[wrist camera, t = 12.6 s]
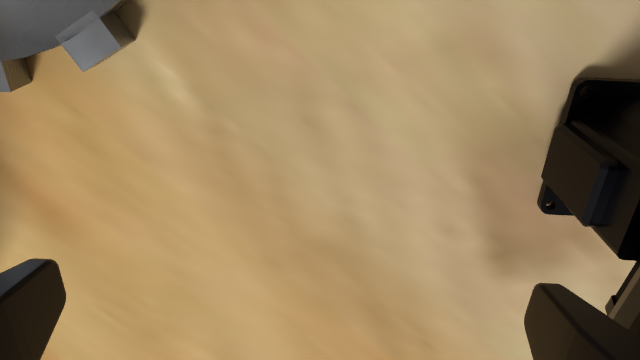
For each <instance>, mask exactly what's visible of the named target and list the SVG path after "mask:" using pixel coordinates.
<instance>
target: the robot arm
mask: <svg viewBox="0 0 640 360" xmlns="http://www.w3.org/2000/svg"><path fill="white" fill-rule="evenodd" d="M585 86H588V91H587V92H586V93H585V94H583V95H580V91H581V90H582V88H584V87H585ZM541 177H542V179H543V184H542V187H541V190H540V194H539V197H538V201H537V205H538V207H539V208H540V209H541V211H542V212H544V213H545V214H552V215H572V216H575V217H576V218H577V219H578V220H579V221H580V222H581V224H582V225H583V226H585V227H591V228H592V229H593V230H594V231H595V232H596V233H597V234H598V235H599V236H600V238H601V239H602V240H603V241H604V242H605V243H606V244H607V245H608V246H609V248H610V249H611V250H612V251H613V252H614V253H615V254H616V255H617V256H618V258H619V259H622V260H635V261H636V263H635V265H634V267H633V268H632V270H631V271H630V273H629V275H628V276H627V278H626V279H625V281H624V283H623V284H622V286H621V288H620V289H619V291H618V292H617V294H616V295H612V296H611V298H610V299H609V301H608V303H607V304H606V306H605V309H606V313H607V315H605V314H604V313H602V312H601V311H599V310H598V309H596V308H595V307H593V306H592V305H590V304H589V303H587V302H586V301H584V300H583V299H581V298H580V297H578V296H577V295H576V294H574V293H573V292H571V291H570V290H568V289H567V288H565V287H564V286H562V285H560V284H550V283H539V284H537V285H536V286H535V287H534V289H533V292H532V295H531V298H530V301H529V304H528V307H527V310H526V313H525V318H524V325H525V331H526V334H527V338H528V342H529V345H530V349H531V353H532V356H533V360H640V80H631V79H609V78H588V77H585V78H580V79H578V80H576V81H575V82H574V83H573V84H572V86H571V88H570V92H569V95H568V98H567V102H566V105H565V109H564V112H563V115H562V119H561V122H560V124H559V125H558V126H557V127H556V128H555V130H554V134H553V137H552V140H551V144H550V147H549V151H548V154H547V158H546V161H545V165H544V168H543V172H542V175H541ZM549 201H553V203H552V204H551V205H548V206H546V204H547V203H548V202H549ZM65 302H66V292H65V288H64V284H63V281H62V277H61V273H60V270H59V266H58V264H57V263H56V261H54V260H52V259H29V260H27V261H25V262H23V263H21V264H19V265H17V266H15V267H13V268H11V269H8V270H6V271H4V272H2V273H0V360H40V359H41V357H42V355H43V352H44V350H45V348H46V346H47V344H48V341H49V339H50V337H51V335H52V332H53V330H54V328H55V326H56V324H57V321H58V319H59V317H60V315H61V312H62V310H63V308H64V305H65Z"/></svg>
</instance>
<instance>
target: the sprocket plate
mask: <svg viewBox="0 0 640 360" xmlns="http://www.w3.org/2000/svg"><path fill="white" fill-rule="evenodd" d="M126 1H127V0H0V92H11V91H14V90H16V89H18V88H20V87H22V86H24V85H27V84H29V83H31V78H30V75H29V71H28V68H27V64H26V61H25V57H28V56H31V55H34V54H37V53H40V52H43V51H46V50H49V49H52V48H55V47H57V46H60V45H62V46H63V47H64V49H65V50H66V51H67V52H68V54H69V55H70V56H71V57H72V59H73V60H74V61H75V62H76V64H77V65H78V66H79V67H80V69H81V70H82V71H83V72H84V71H86V70H88V69H90V68H92V67H94V66H96V65H98V64H100V63H101V62H103V61H104V60H106V59H107V58H109V57H110V56H112V55H113V54H115V53H116V52H118V51H119V50H121V49H123V48H124V47H126V46H127V45H129V44H130V43H132V42H133V41H135V39H134V37H133V36H132V34H131V33H130V32H129V30H128V29H127V27H126V26H125V25H124V23H123V22H122V21H121V19H120V18H119V16H118V15H117V14H116V12H117V11H118V10H119V9H120V7H121V6H122V5H123V4H124V3H125V2H126Z"/></svg>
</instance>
